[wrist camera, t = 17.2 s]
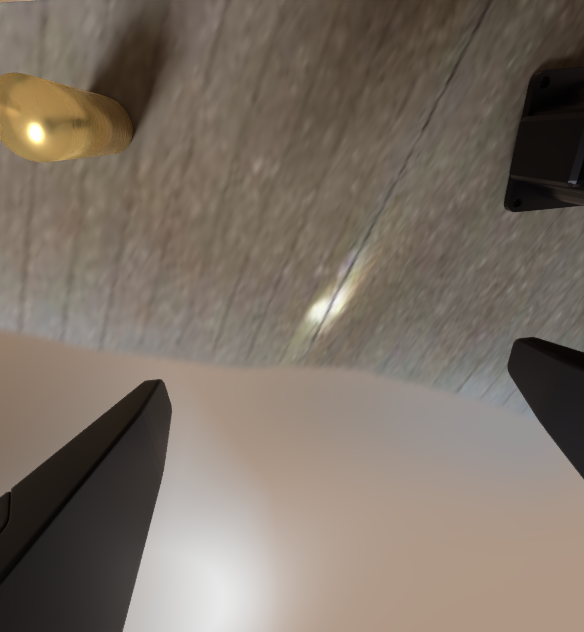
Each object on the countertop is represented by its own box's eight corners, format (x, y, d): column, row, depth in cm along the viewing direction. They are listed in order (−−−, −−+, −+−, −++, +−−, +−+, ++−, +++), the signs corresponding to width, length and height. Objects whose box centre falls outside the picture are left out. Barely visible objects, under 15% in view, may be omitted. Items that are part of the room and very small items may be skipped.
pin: (123, 92, 15) (53, 69, 10) (139, 151, 17) (83, 158, 11) (69, 97, 15) (-31, 76, 10) (88, 156, 16) (7, 165, 11)
